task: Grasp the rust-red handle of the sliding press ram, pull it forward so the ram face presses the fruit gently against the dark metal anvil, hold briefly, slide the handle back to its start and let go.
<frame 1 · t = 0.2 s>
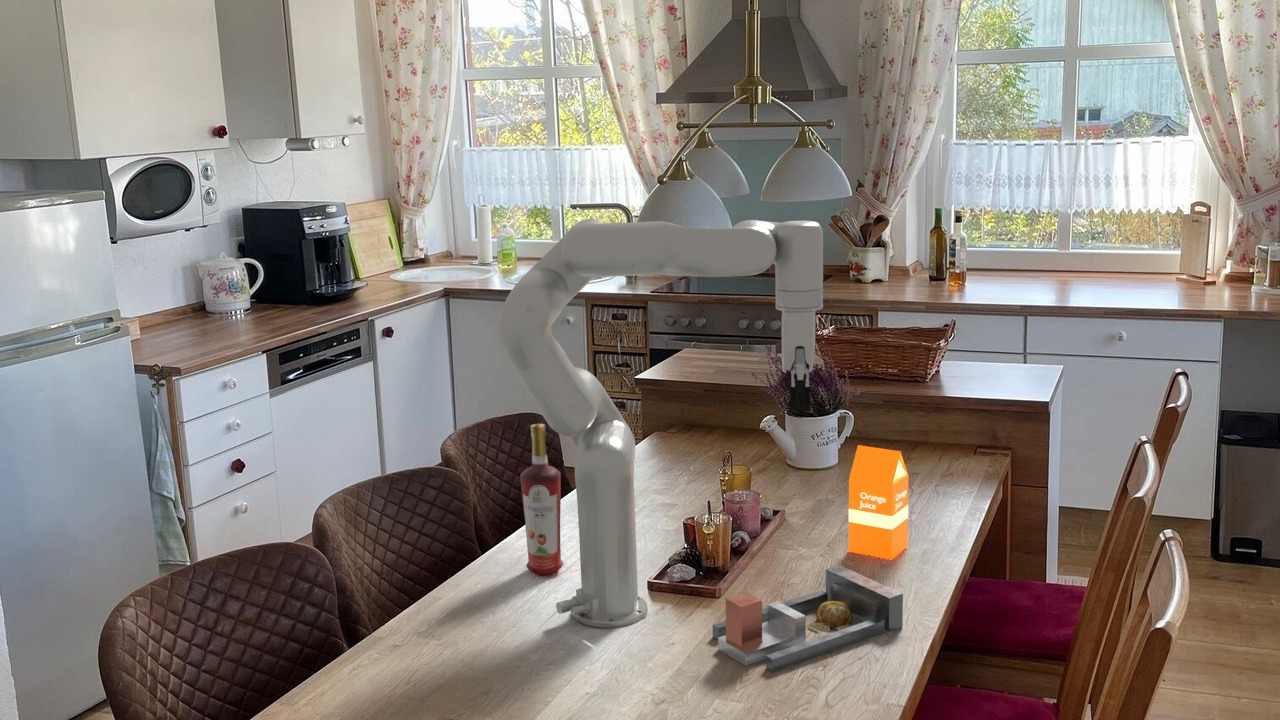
hand: (799, 402, 201), 36 cm above the table, tool pointing down, fingers open, 9 cm apart
fruit: (831, 629, 202), on the table
ram: (761, 620, 194), point 5 cm above the table, slide at 0.0 cm
orange juice: (877, 550, 235), on the table
press frame: (798, 636, 199), on the table
liquor: (545, 572, 229), on the table
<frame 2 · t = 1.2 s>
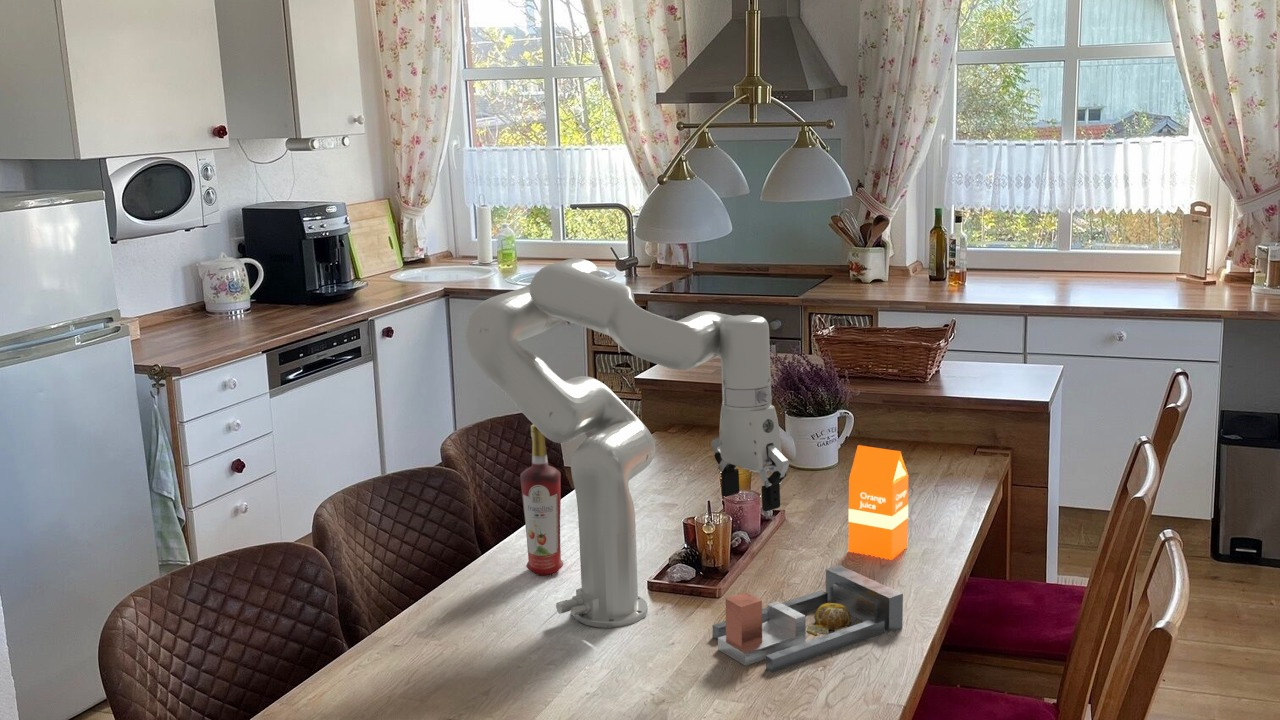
hand: (750, 501, 194), 23 cm above the table, tool pointing down, fingers open, 9 cm apart
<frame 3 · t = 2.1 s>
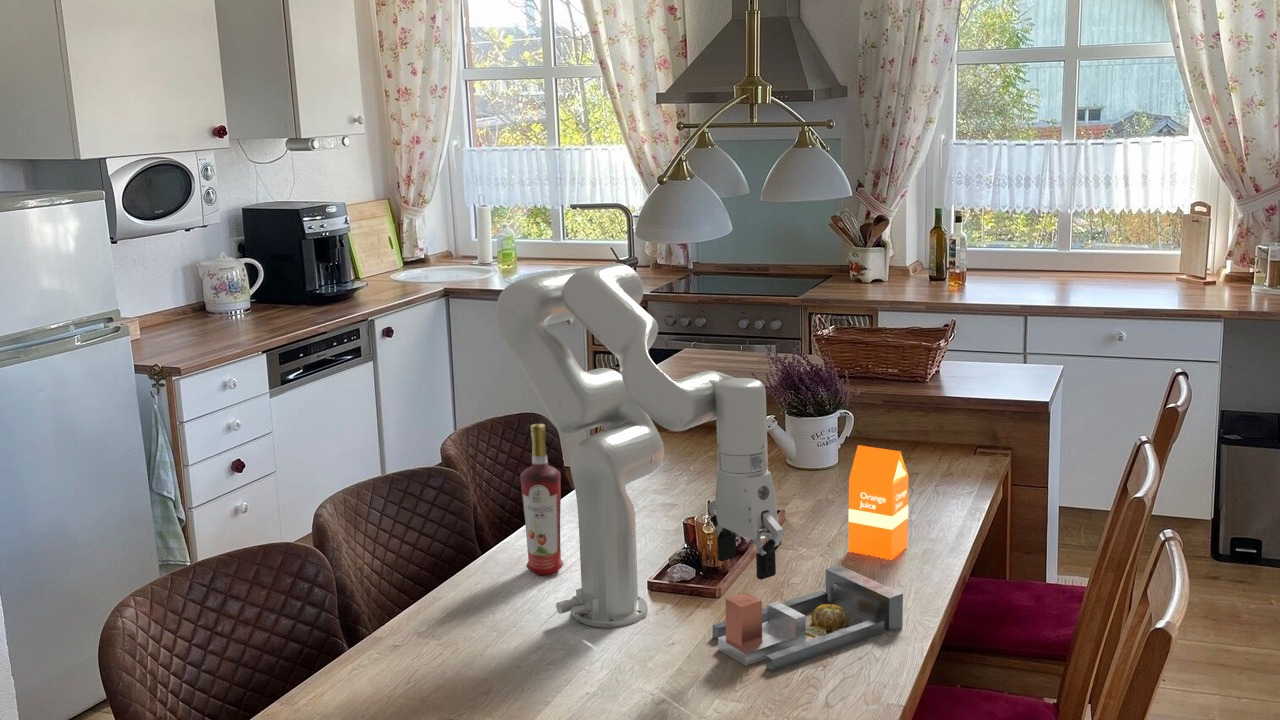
hand: (746, 567, 190), 15 cm above the table, tool pointing down, fingers open, 9 cm apart
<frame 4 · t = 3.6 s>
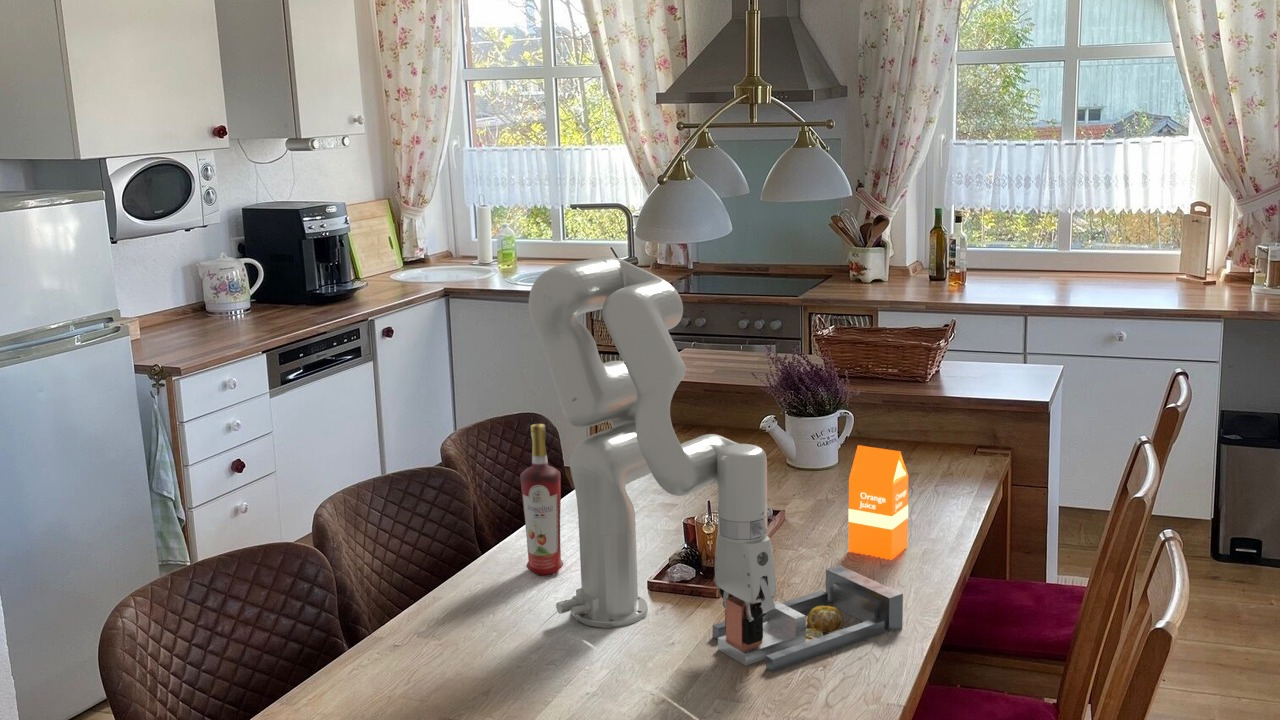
hand: (744, 635, 192), 3 cm above the table, tool pointing down, fingers closed on ram, 4 cm apart
ram: (761, 620, 194), point 5 cm above the table, slide at 0.0 cm, touching gripper
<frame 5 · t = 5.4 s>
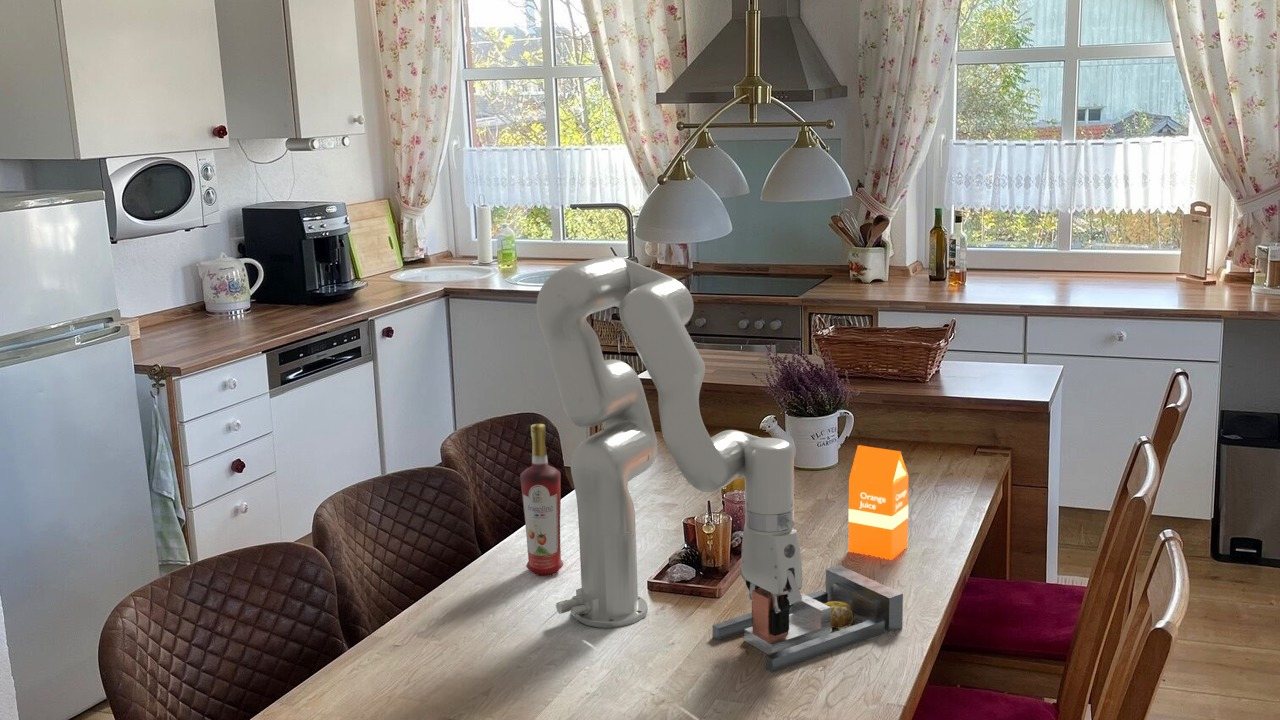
hand: (770, 626, 195), 3 cm above the table, tool pointing down, fingers closed on ram, 4 cm apart
fruit: (833, 630, 202), on the table
ram: (787, 612, 197), point 5 cm above the table, slide at 5.2 cm, touching gripper
everything else where it was.
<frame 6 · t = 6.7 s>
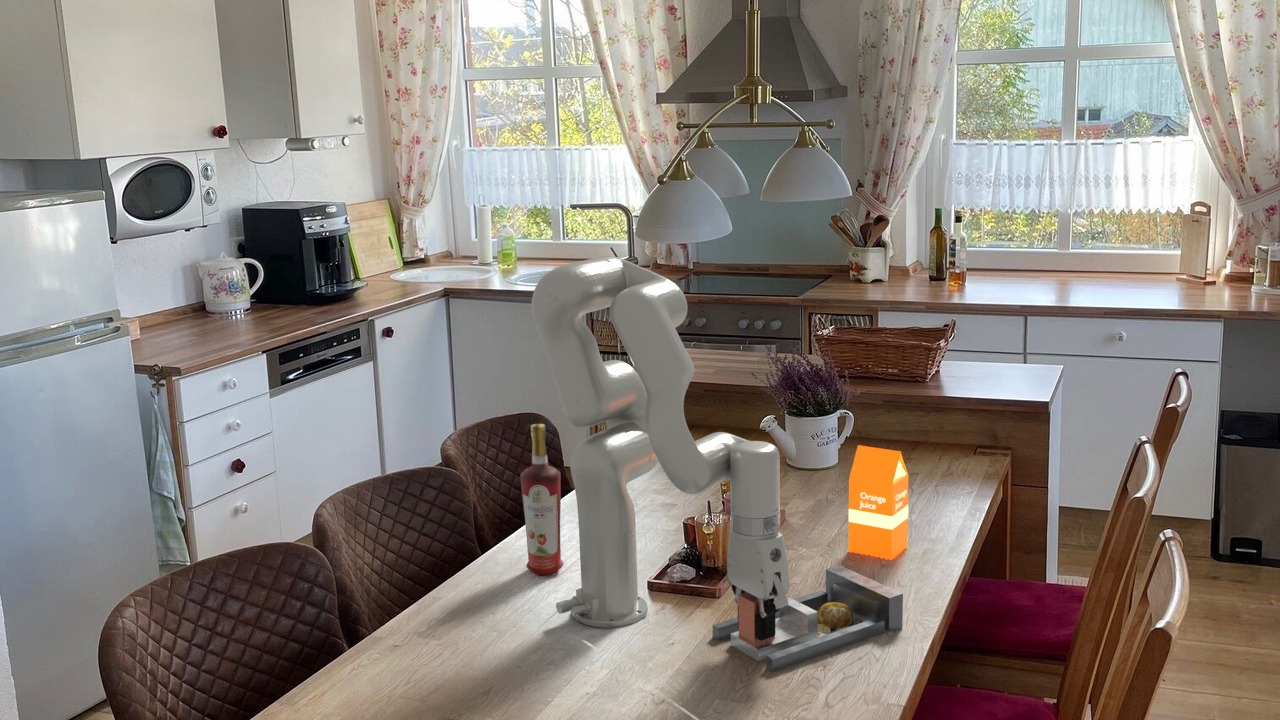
hand: (756, 631, 194), 3 cm above the table, tool pointing down, fingers closed on ram, 4 cm apart
ram: (774, 616, 195), point 5 cm above the table, slide at 2.5 cm, touching gripper
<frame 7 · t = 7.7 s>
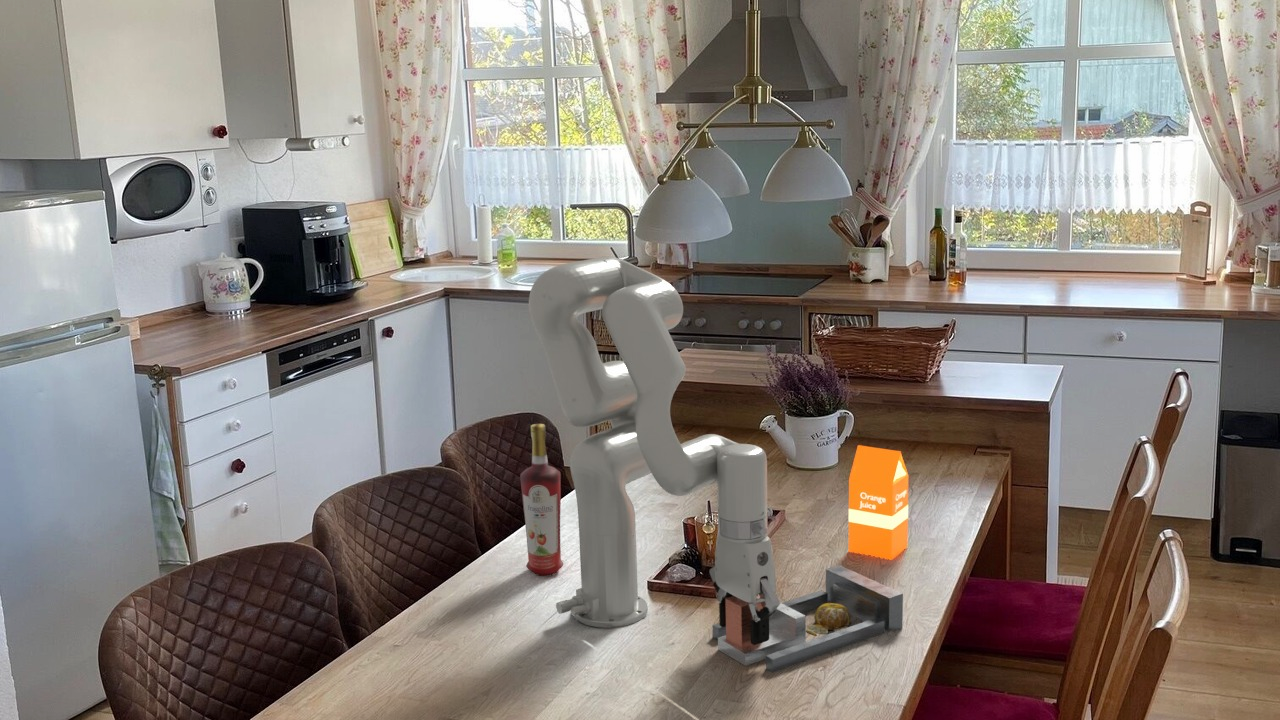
hand: (744, 632, 192), 4 cm above the table, tool pointing down, fingers open, 7 cm apart
ram: (761, 620, 194), point 5 cm above the table, slide at 0.0 cm
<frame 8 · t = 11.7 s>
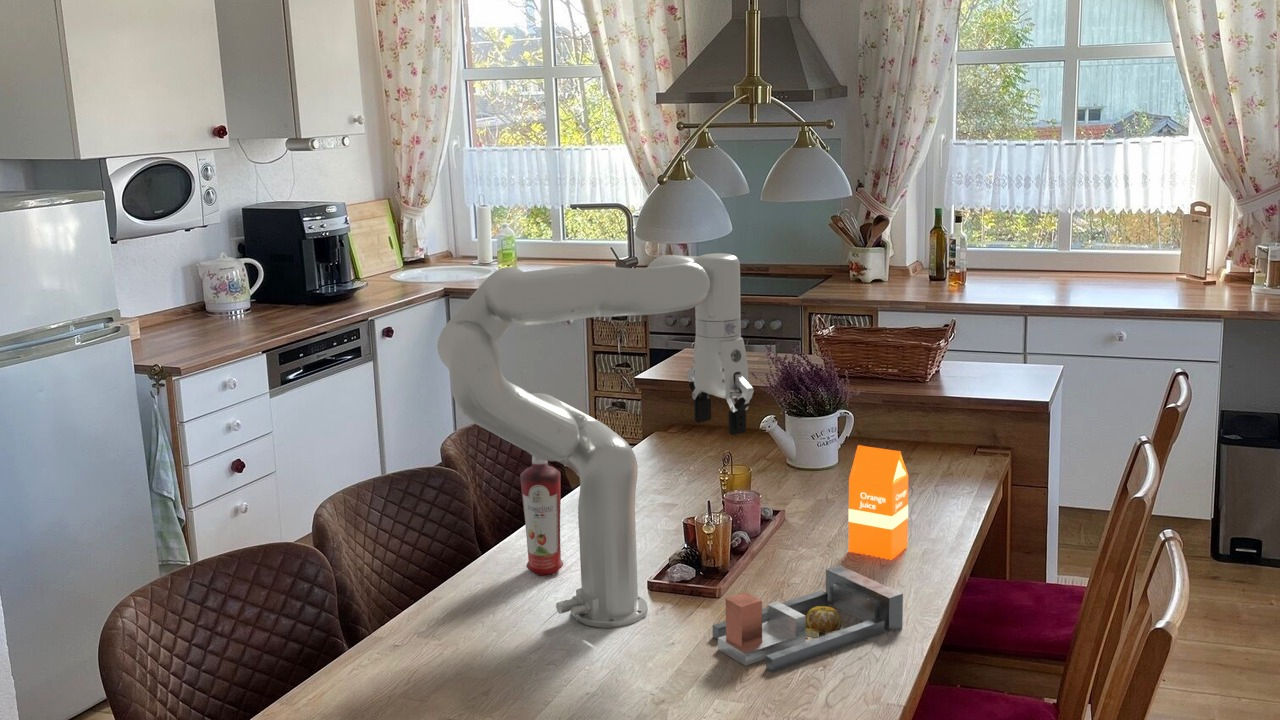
hand: (719, 427, 210), 30 cm above the table, tool pointing down, fingers open, 9 cm apart
fruit: (820, 635, 200), on the table
everything else where it was.
at the end: ram slide at 0.0 cm; fruit inside the target area (4.4 cm from its centre), on the table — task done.
